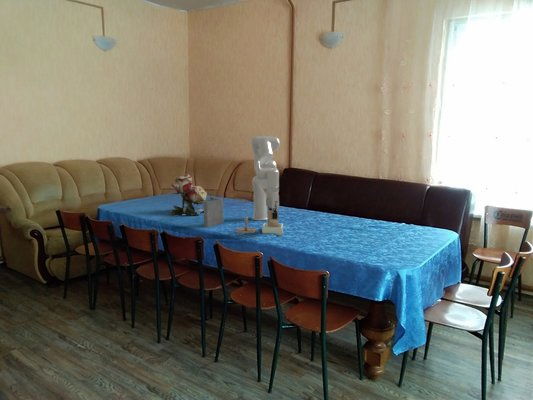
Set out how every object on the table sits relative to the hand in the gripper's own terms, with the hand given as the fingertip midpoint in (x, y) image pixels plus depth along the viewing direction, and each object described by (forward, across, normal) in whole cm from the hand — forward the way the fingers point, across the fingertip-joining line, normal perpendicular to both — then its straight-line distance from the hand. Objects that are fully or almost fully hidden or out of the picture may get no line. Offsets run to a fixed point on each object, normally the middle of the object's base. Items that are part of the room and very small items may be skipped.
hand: (272, 217), depth 274 cm
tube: (+6, 0, 0) cm, 6 cm away
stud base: (+10, -9, -15) cm, 20 cm away
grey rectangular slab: (+10, -38, -27) cm, 47 cm away
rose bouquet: (+10, -86, -30) cm, 92 cm away
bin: (+10, 0, 0) cm, 10 cm away
